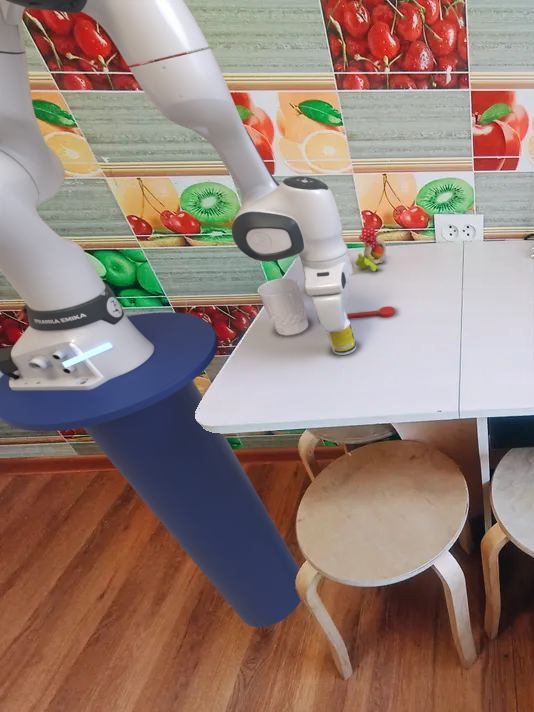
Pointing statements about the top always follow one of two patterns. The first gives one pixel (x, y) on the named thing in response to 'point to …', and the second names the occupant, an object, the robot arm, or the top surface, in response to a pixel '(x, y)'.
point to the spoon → (374, 313)
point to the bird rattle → (371, 249)
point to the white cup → (284, 305)
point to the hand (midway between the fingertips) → (344, 327)
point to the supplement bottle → (343, 339)
